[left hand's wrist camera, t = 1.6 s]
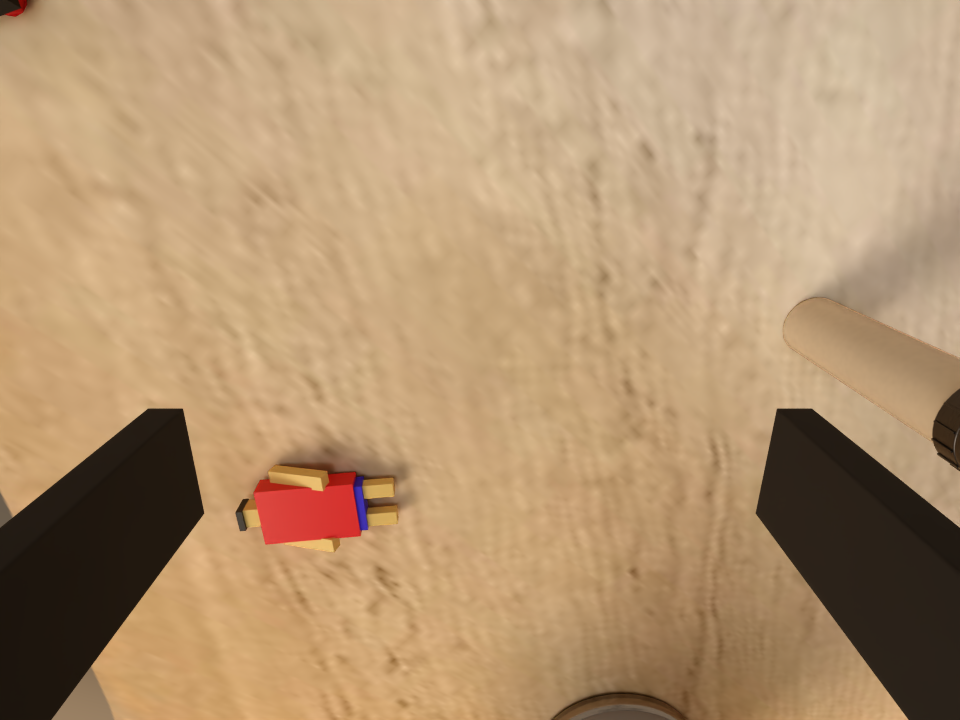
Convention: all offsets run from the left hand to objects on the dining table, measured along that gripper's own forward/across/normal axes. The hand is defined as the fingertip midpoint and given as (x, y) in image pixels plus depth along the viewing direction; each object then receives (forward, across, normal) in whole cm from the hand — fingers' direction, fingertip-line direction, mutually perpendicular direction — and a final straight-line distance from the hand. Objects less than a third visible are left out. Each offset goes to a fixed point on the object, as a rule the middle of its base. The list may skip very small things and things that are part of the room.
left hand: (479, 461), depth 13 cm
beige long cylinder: (+28, -24, +6) cm, 37 cm away
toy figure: (+28, +13, +20) cm, 37 cm away
